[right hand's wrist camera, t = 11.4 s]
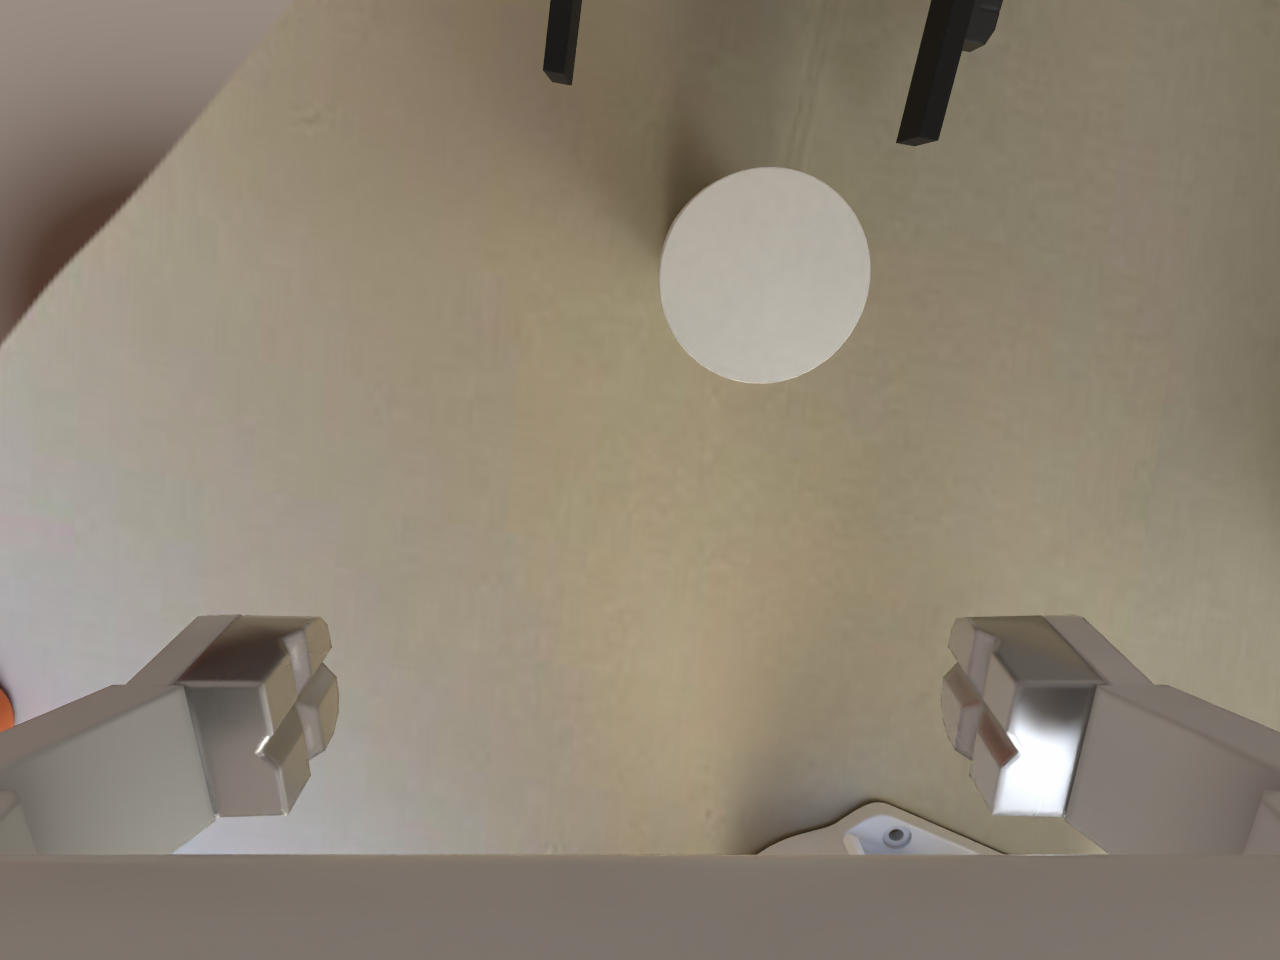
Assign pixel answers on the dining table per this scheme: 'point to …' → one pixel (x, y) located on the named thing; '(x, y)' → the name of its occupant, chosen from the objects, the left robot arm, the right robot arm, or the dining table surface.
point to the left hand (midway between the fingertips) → (738, 111)
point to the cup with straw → (5, 713)
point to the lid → (764, 274)
